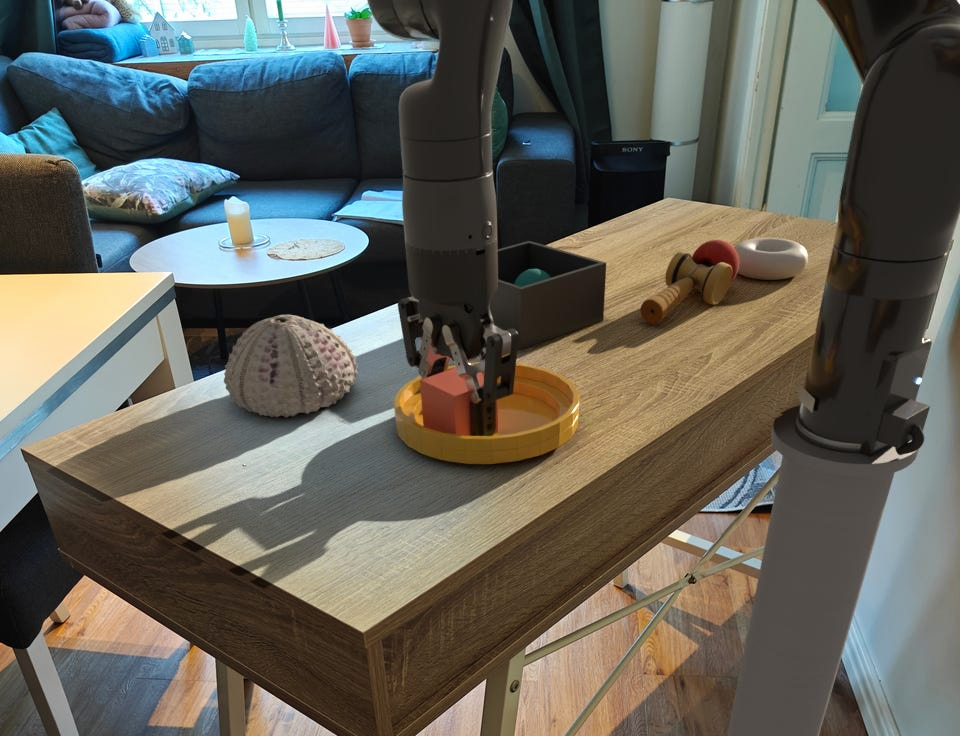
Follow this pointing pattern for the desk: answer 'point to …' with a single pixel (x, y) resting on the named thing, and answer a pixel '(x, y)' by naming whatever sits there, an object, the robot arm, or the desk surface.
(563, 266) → the bin
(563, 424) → the bowl
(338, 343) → the sea urchin shell
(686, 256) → the kendama
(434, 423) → the toy block
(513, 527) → the desk surface
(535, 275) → the toy ball
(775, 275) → the donut
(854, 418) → the robot arm
